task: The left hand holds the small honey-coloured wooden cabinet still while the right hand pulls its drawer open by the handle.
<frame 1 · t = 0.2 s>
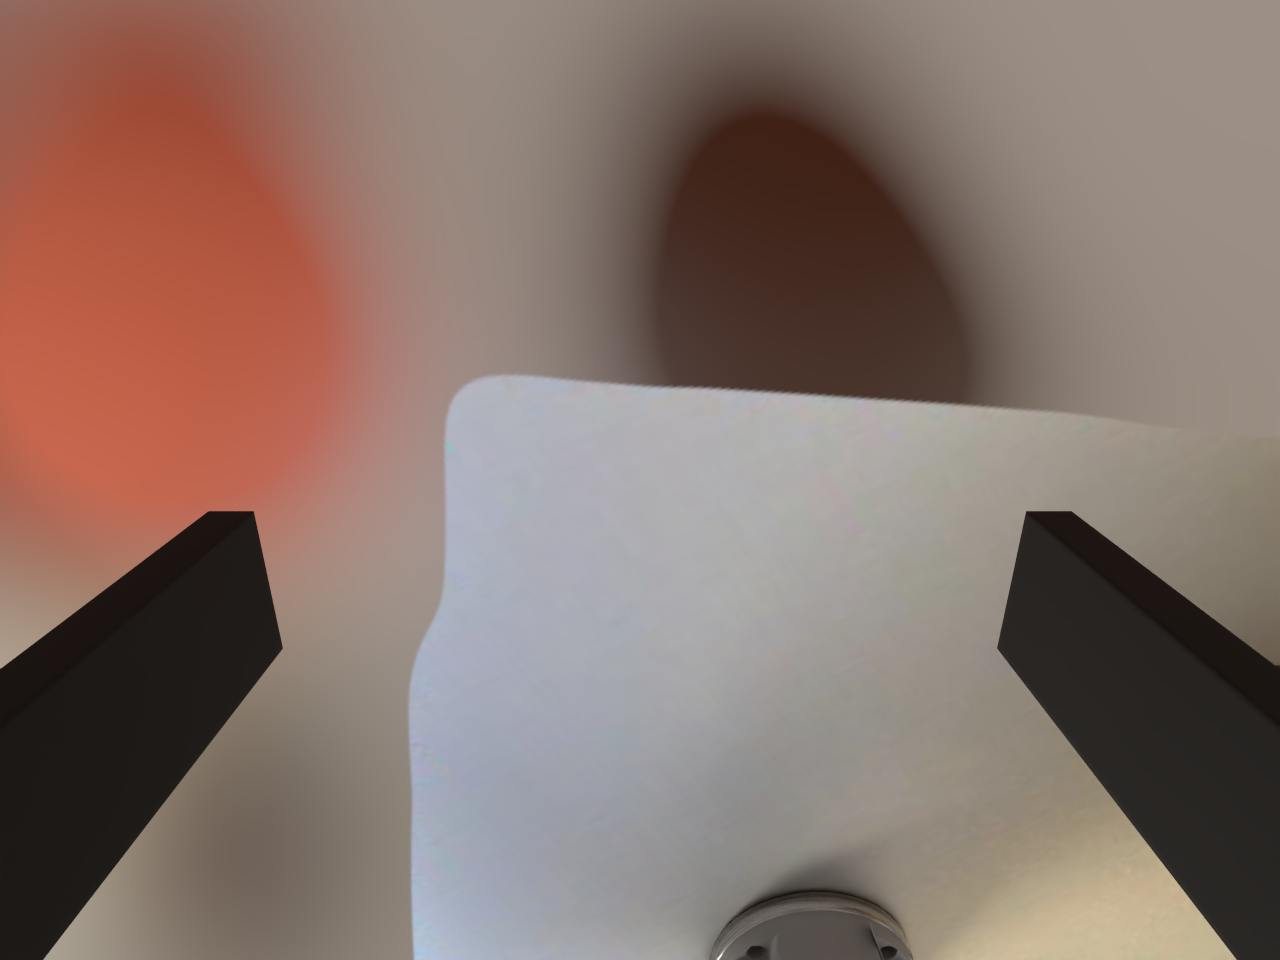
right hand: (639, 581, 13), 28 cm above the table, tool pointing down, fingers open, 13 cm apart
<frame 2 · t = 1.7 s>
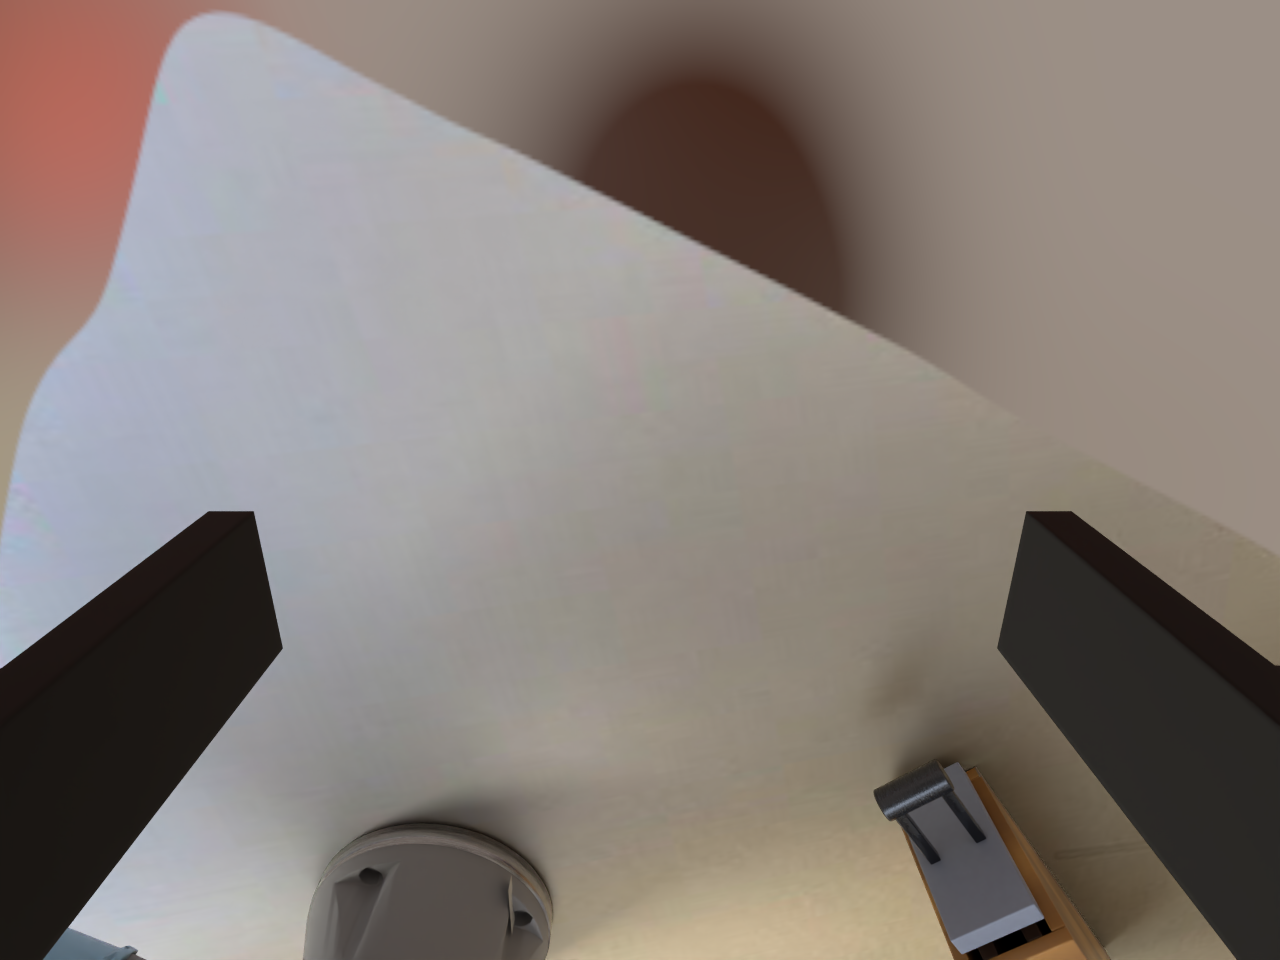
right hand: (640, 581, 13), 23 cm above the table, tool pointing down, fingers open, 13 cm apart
drawer: (1006, 912, 41), point 5 cm above the table, slide at 0.7 cm
cabinet: (1003, 881, 47), on the table
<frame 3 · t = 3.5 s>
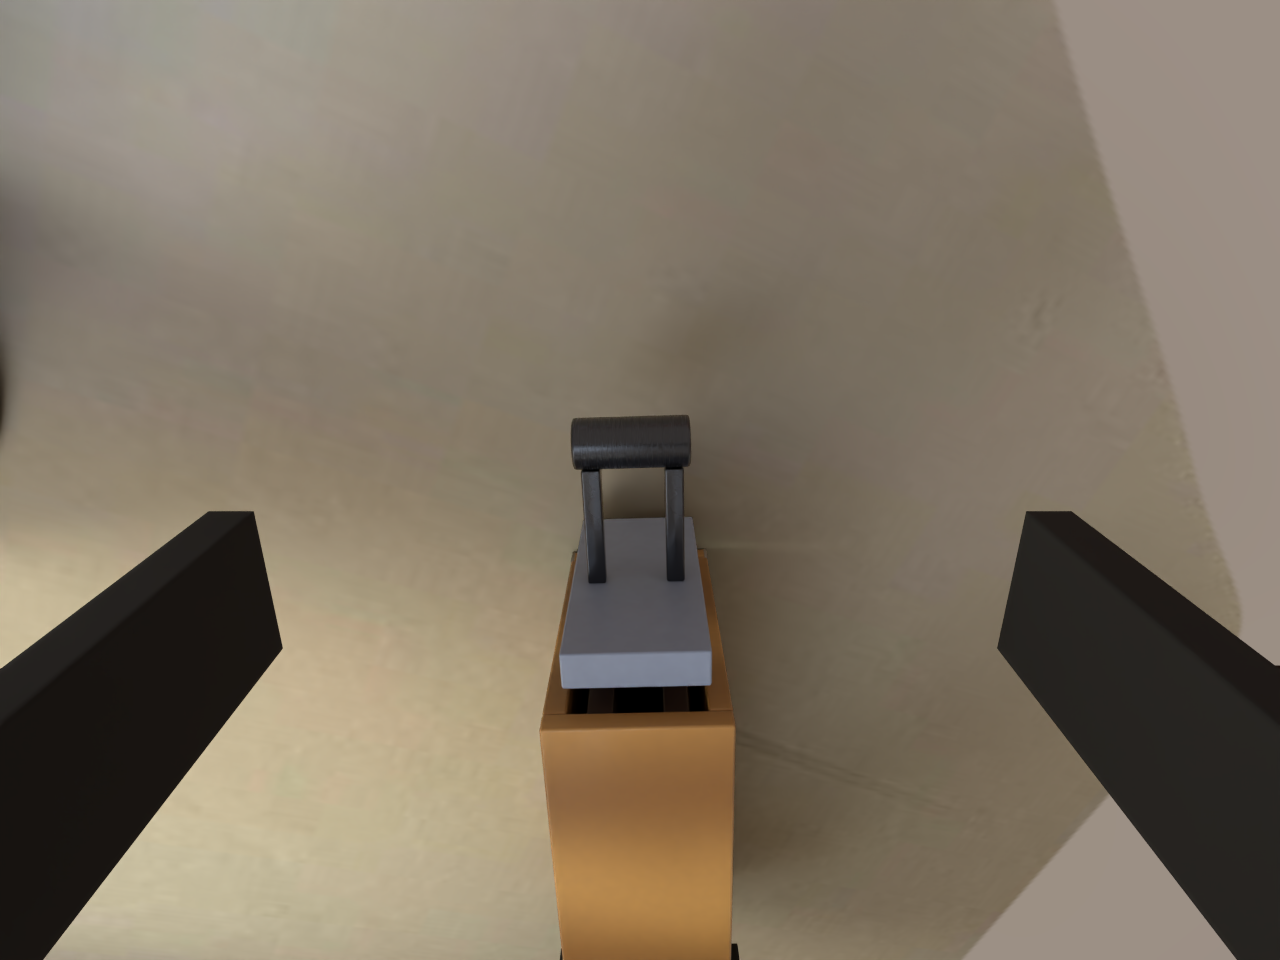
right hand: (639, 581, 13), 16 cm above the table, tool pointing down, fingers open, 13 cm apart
drawer: (642, 725, 27), point 5 cm above the table, slide at 0.7 cm
cabinet: (646, 736, 34), on the table, touching left hand
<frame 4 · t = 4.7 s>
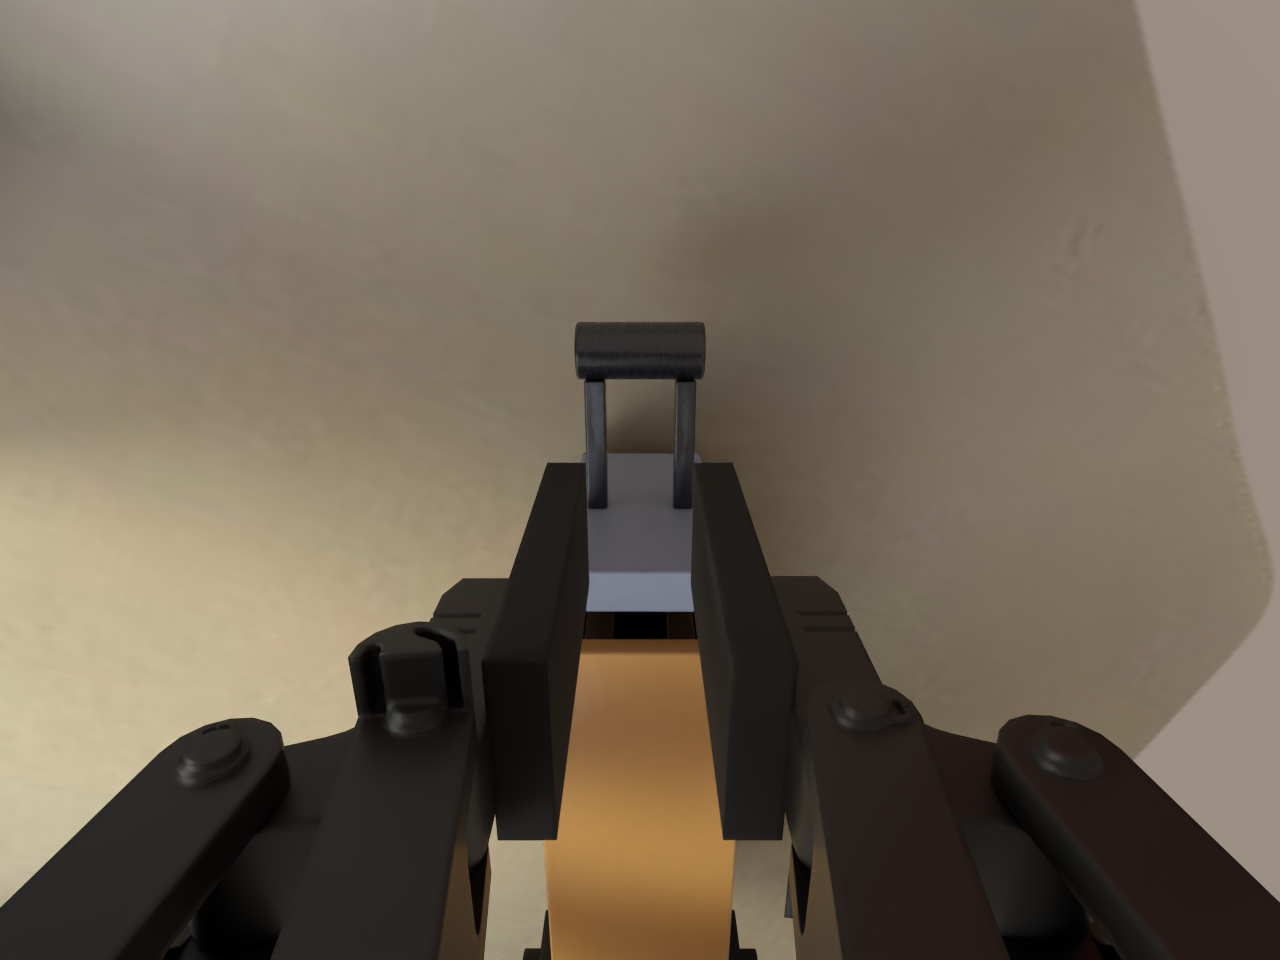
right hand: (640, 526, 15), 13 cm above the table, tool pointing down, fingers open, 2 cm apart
drawer: (640, 671, 25), point 5 cm above the table, slide at 0.7 cm
cabinet: (641, 694, 32), on the table, touching left hand
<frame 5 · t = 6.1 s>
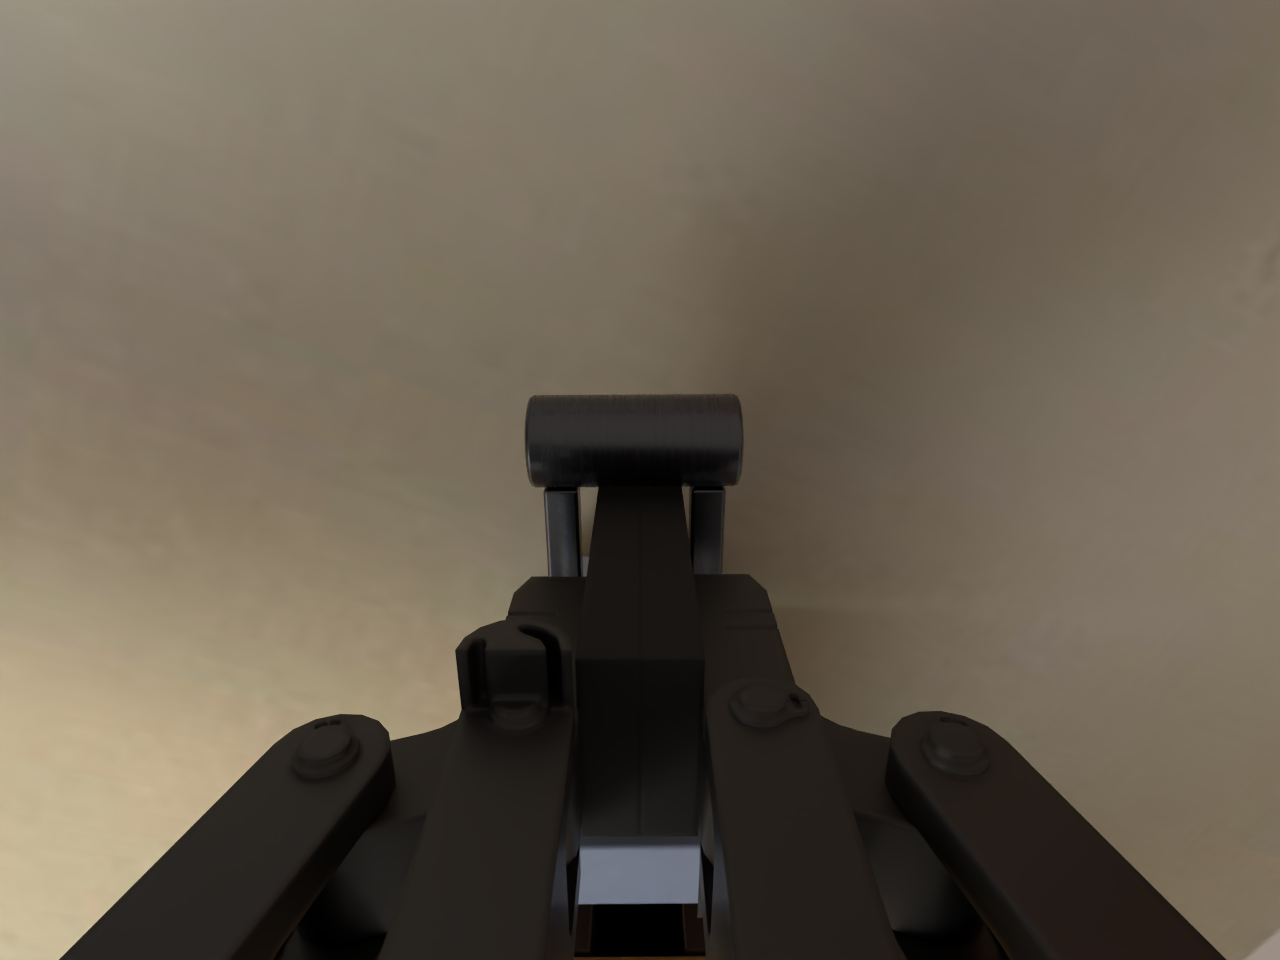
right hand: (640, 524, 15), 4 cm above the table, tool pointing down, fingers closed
drawer: (638, 886, 17), point 5 cm above the table, slide at 0.8 cm, touching right hand
cabinet: (638, 858, 24), on the table, touching left hand
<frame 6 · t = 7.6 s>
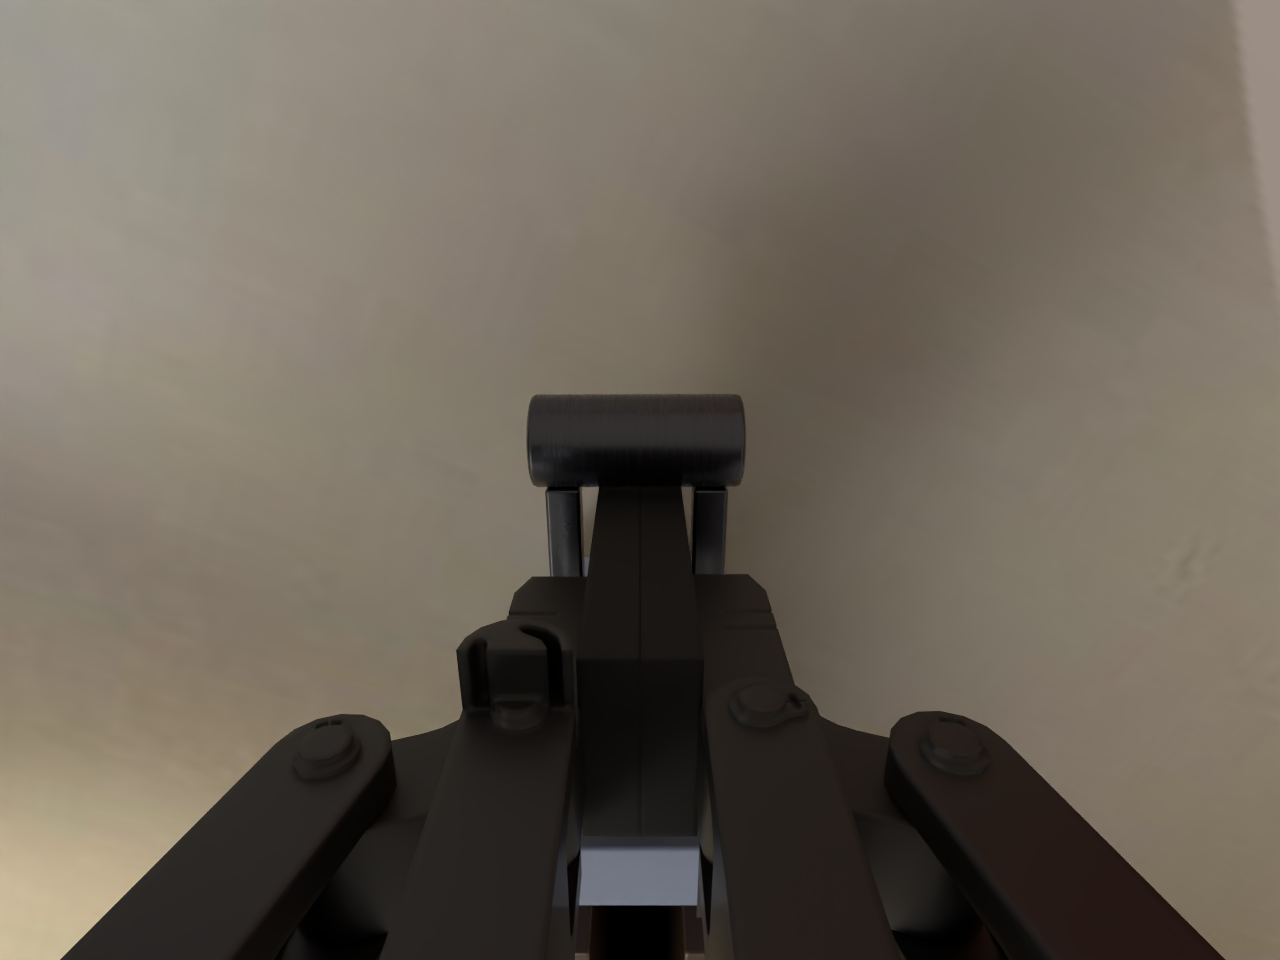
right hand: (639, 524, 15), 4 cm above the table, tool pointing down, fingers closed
drawer: (639, 887, 17), point 5 cm above the table, slide at 8.6 cm, touching right hand
when the left hand's fingers open (7 cm above the table, at t = 9.0 s): cabinet stays where it is, on the table.
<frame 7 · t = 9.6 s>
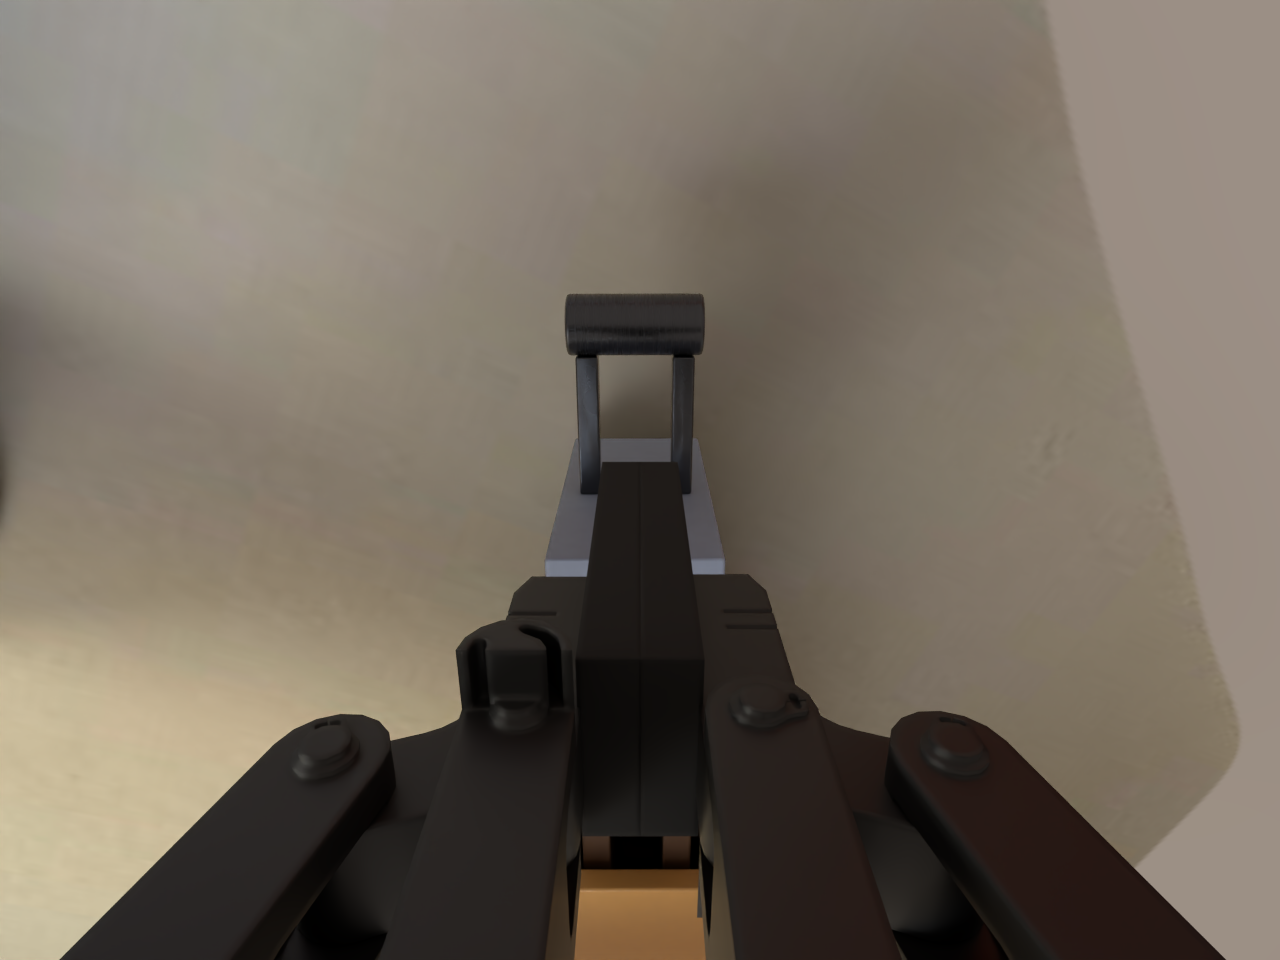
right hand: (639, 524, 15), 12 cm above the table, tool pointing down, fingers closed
drawer: (636, 666, 24), point 5 cm above the table, slide at 8.6 cm
cabinet: (638, 833, 34), on the table
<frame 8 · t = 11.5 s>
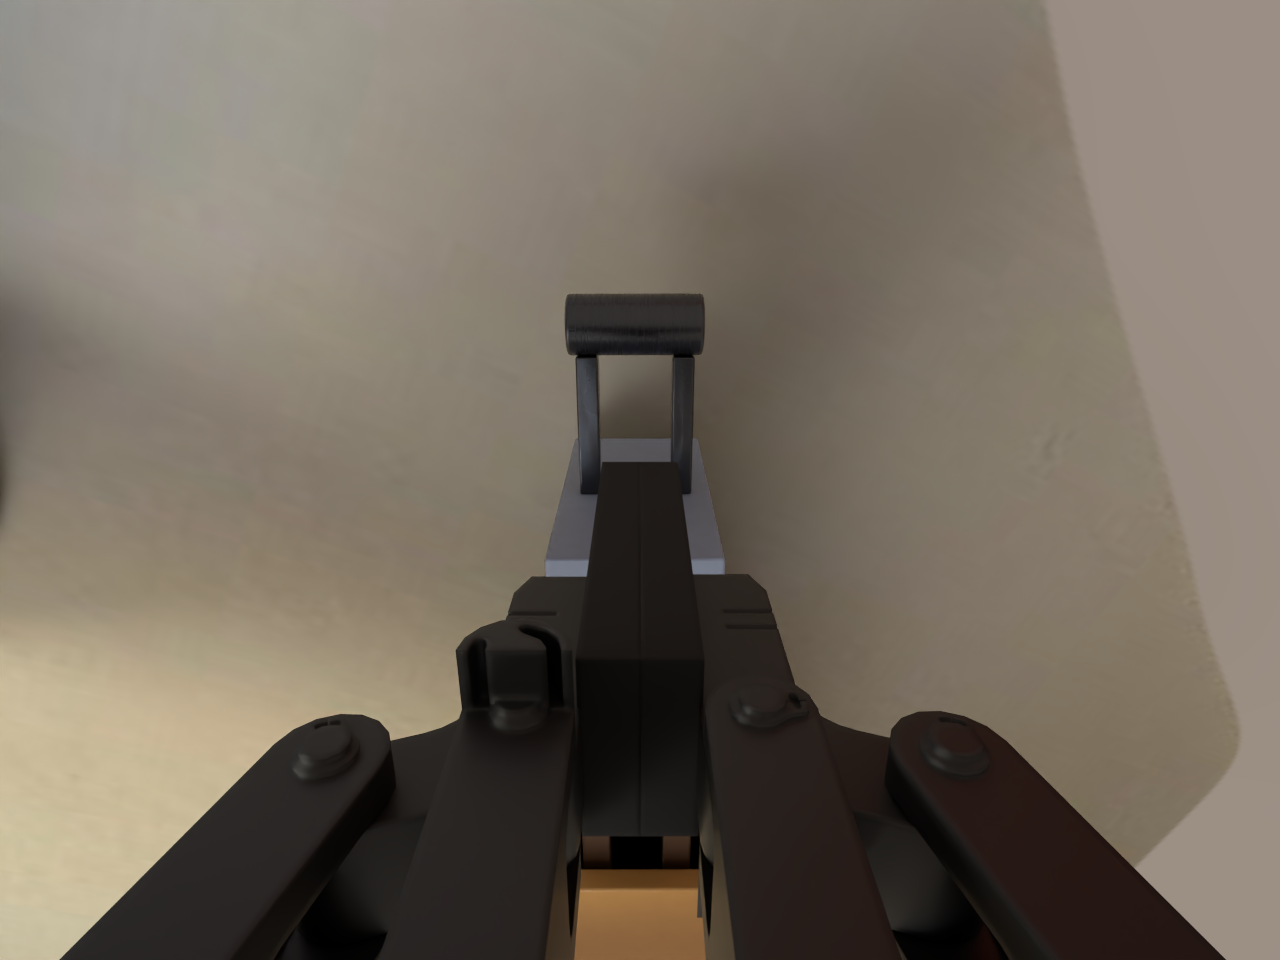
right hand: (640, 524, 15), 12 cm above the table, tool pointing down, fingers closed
drawer: (636, 666, 24), point 5 cm above the table, slide at 8.6 cm
cabinet: (638, 833, 34), on the table
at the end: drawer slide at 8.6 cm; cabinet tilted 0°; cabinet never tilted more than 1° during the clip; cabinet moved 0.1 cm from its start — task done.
